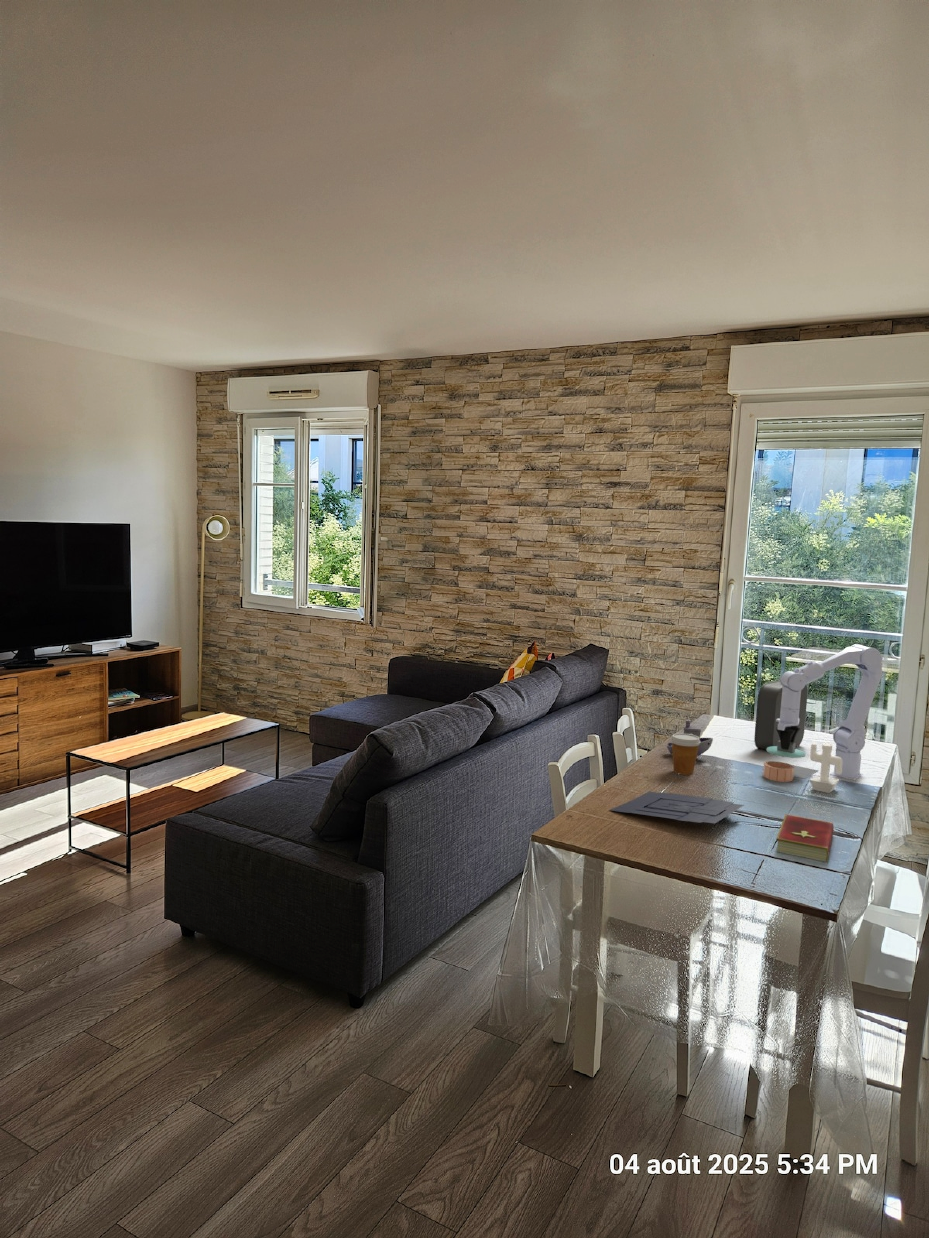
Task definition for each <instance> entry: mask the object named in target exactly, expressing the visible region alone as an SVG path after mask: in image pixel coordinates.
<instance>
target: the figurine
mask: <svg viewBox="0 0 929 1238" xmlns="http://www.w3.org/2000/svg"><path fill="white" fill-rule="evenodd" d="M817 748H818V746H817V743H811V745H810V755H809V757H810V761H812V762H815V763H821V766H820V774H819V775H817V774H813V775H812V777H810V778H808V779H809V782H810V785H811V787H812V790H813V791H818V792H822V793H827V794H830V793H832V791H833V790H835V788H836V786H837V784H838V783H839V782H840V779H838V778H833V777H830V769H831V766H836V774H837V775H840V774H841V773H842V758H840V757H836V756H835V755H832V751H833V745H832V743H829V742H828V743H827V742H824V743H822V745H821V750H822V752H821V753H818V752H817V751H818V750H817Z"/></svg>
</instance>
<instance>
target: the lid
mask: <svg viewBox="0 0 929 1238" xmlns="http://www.w3.org/2000/svg"><path fill="white" fill-rule="evenodd" d="M795 745H796V743H793V742H790V746H789V749H788V750H786V749H782V748H781V743H780V740H779V741H778V744H777V746H771V747H768V748H767V750H766V752H767V753H768V754H772V755H774V756H778V757H782V758H790V759H793V758H795V759H798V758H801V759H802V758H804V757H806V752H805V751H803V750H801V749H798V748H795Z"/></svg>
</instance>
